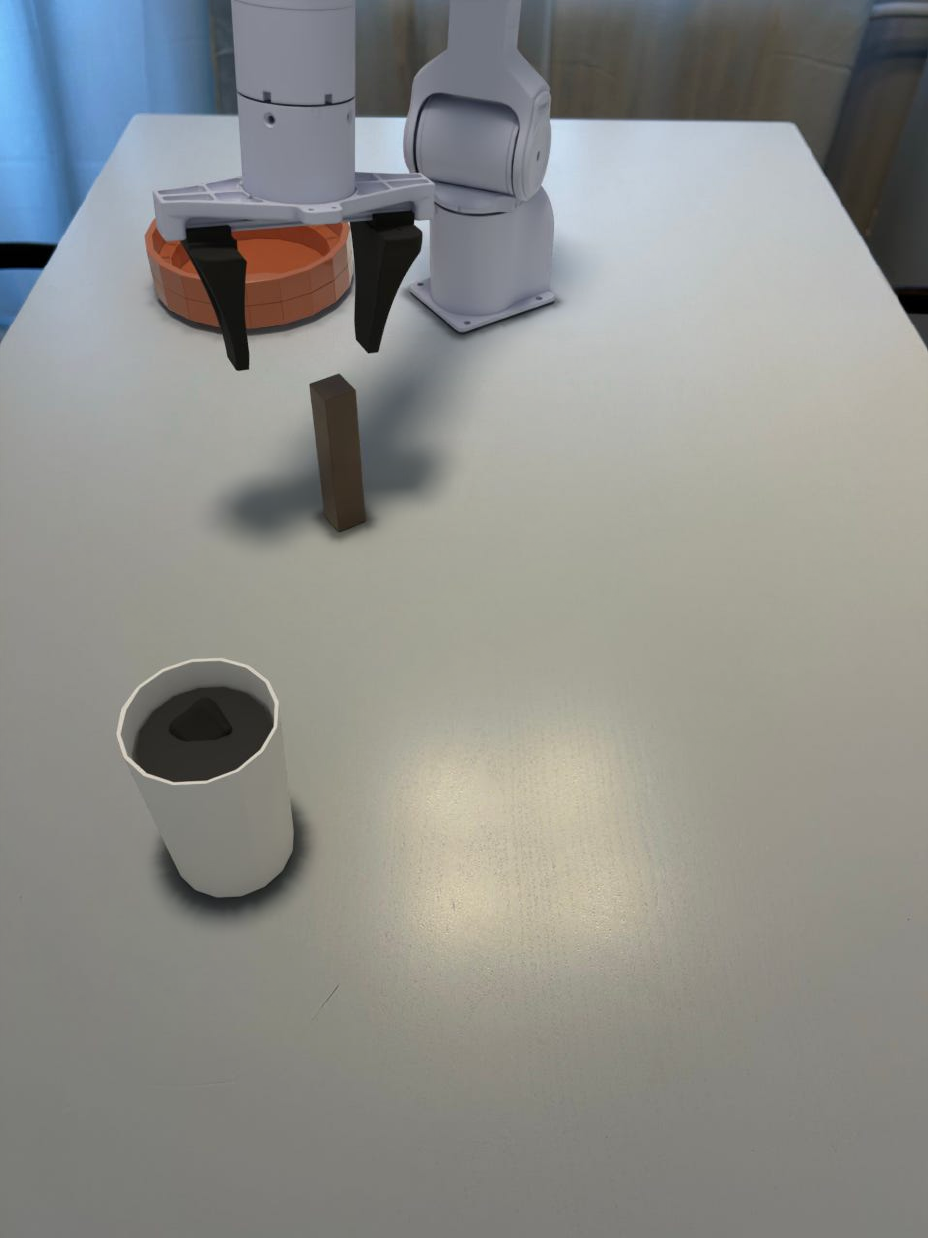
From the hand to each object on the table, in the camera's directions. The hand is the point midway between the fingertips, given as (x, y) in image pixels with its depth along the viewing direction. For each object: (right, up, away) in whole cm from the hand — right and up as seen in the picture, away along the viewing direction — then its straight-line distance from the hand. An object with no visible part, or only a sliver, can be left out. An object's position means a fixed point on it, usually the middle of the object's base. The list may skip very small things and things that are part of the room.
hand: (304, 354), depth 59 cm
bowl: (-8, +13, +28) cm, 32 cm away
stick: (+1, -9, +8) cm, 12 cm away
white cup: (-2, -26, -8) cm, 28 cm away
